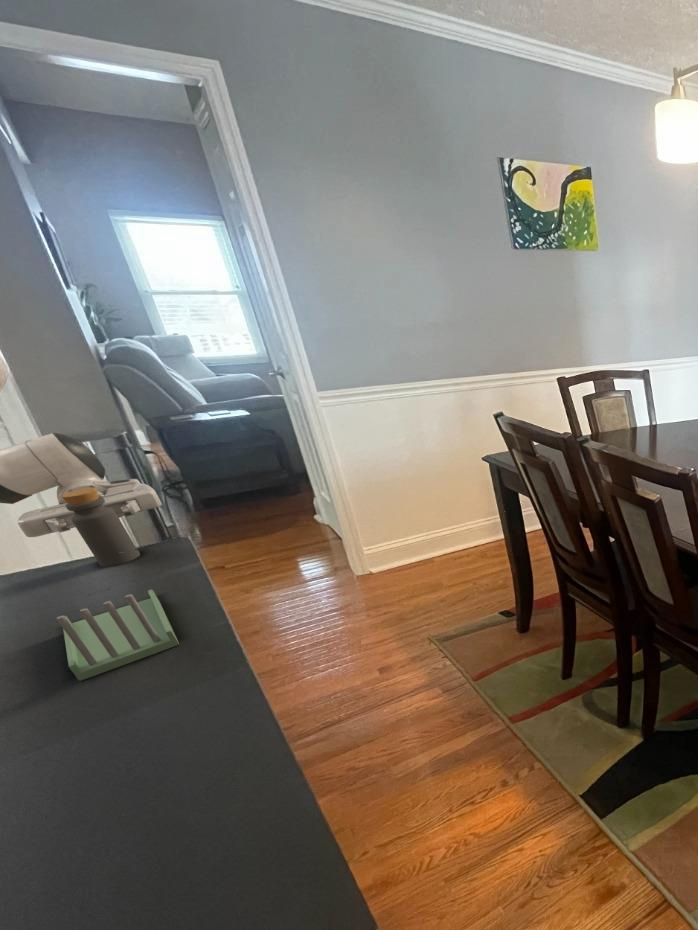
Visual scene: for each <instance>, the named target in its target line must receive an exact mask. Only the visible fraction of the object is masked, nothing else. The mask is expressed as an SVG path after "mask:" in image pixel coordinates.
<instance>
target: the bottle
mask: <svg viewBox="0 0 698 930" xmlns="http://www.w3.org/2000/svg"><path fill="white" fill-rule="evenodd" d="M61 497H62V498H63V499H64V500H65V501H66V502H67V503H68V504H66V508H67V509H68V510H69V511H74V513H75V515H74V516H73V517H72V518H71V520H72V522H73V524H74V525H75V529H76V530H77V531H78V533H79V535H80V536H81V538H82V539H83V542H85V544H86V546H87V547H88V549H89V550H90V552H91V554H92V555H93V557H94V558H95V560H96V561H97V562H98V564H99V566H101V567H112V566H117V565H122V564H125V563H128V562H130V561H133V560H135V559H137V558H139V557H140V556H141V553H140V550H138V548H137V546H136V544H135V543H134V542H133V540H132V537H130V534H129V533H128V531H127V529H126V528H125V526H124V525H123V523H122V521H121V519H120V518H118V516H117V515H116V513H115V512H114V510H113V509H111V508H108V507H104V506H103V503H105V500H104V498H103V497H101V496H98V493H97V489H96V488H84V489H78V490H74V491H70V492H67V493H65V494H63V495H61ZM134 549H137V550H134ZM119 552H124V553H119Z"/></svg>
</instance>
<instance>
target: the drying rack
mask: <svg viewBox="0 0 698 930" xmlns="http://www.w3.org/2000/svg"><path fill="white" fill-rule="evenodd" d="M147 593H148V595H149V597H150V598H147V599H144V600H140V601H137V600H136V598H135V597H134V595H133V594H131V593H129V594H126V595H125V596H124V598H125V600H126V601H127V603H128V605H125V606H122V607H119V608H116V607H115V606H114V604H113V603H112V601H111V600H107V601H105V602H103V603H102V604H103V606H104V608H105V609H106V612H103V613H100V614H96V615H94V616H93V614H92V613H91V612H90V610H89V609H88V608H87V607H86V608H82V609H80V610H79V613H80V614H81V616H82V617H83V619H81V620H78V621H74V622H71V620H70V619H69V618H68V616H67V615H59V616H57V617H56V621H57V622H58V624H59V625H60V626H61V627H62V631H63V637H64V642H65V643H64V644H65V650H66V651H65V652H66V656H67V664H68V668H69V669H70V671H71V672H72V673H73V675H74V676H75V678H76V679H77V680H78V681H79V682H81V681H84V680H86V679H89V678H92V677H95V676H98V675H101V674H104V673H106V672H109V671H111V670H112V671H113V670H114V669H117V668H119V667H122V666H125V665H128V664H130V663H134V662H136V661H139V660H142V659H144V658H147V657H149V656H152V655H155V654H158V653H161V652H163V651H166V650H169V649H171V648H174V647H177V646H180V643H179V641H178V639H177V636H176V634H175V632H174V629H173V627H172V625H171V623H170V621H169V619H168V616H167V615H166V612H165V610H164V608H163V606H162V604H161V601H160V599H159V598H158V596H157V595H156V593H155V591H154V590H153V589H148V590H147Z"/></svg>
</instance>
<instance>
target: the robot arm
mask: <svg viewBox="0 0 698 930" xmlns="http://www.w3.org/2000/svg"><path fill="white" fill-rule="evenodd" d="M8 376H9V369H8V365H7V364H6V362H5V360H4V359H3V357H2V356H1V355H0V392H1V390H3V388H4V387H5V385H6V383H7V381H8ZM105 477H106V469H105V467H104V465H103V464H102V462H101V461H100V460H99V458H98V456H96V454H95V453H94V452H93V451H92V450H91V449H90V448H88V446H87V445H85V444H84V443H83V442H82V441H81V440H80V439H77V438H75V437H73V436H70V435H67V434H63V433H59V432H51V433H48V434H45V435H44V434H43V435H42V436H38V437H35V438H31V439H29V440H25V441H23V442H19V443H16V444H13V445H10V446H8V447H4V448H1V449H0V504H7V505H9V504H10V505H14V504H16V503H19V502H22V501H23V500H25V499H28V498H30V497H33V495H36V494H39V493H41V492H44V491H47V490H51V489H53V488H55V487H57V488H56V499H57V504H56V505H52V506H47V507H42V508H38V509H34V510H30V511H27V512H24V513H22V514H21V515H20V516H19V517H18V519H17V521H16V522H17V525H18V526H19V528H20V530H21V531H22V532H23V534H24V535H25V536H26V537H27V538H37V537H40V536H46V535H50V534H54V533H58V532H59V533H64V532H69V531H71V529H76V527H75V525H74V524H73V522H72V520H71V518H72V517H73V516H74V515H75V513H74V511H69V510H68V509H67V508H66V504H68V503H67V502H66V501H65V500H64V499H63V498H62V497H61V495H63V494H65V493H67V492H70V491H74V490H78V489H84V488H96V489H97V493H98V496H101V497H103V498H104V500H105V503H103V506H104V507H108V508H111V509H113V510H114V512H115V513H116V515H117V516H118V518H119V519H120V518H123V517H130V516H135V515H136V513H139V512H145V511H149V510H153V509H158V508H160V507H162V506H163V503H162V500H161V499H160V497H159V495H158V494H157V492H156V490H155V489H154V488H153V487H152V486H150V485H148V484H147V483H141V482H140V481H139V479H137V478H130V479H121V480H111V481H108V480H107V479H105Z"/></svg>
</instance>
